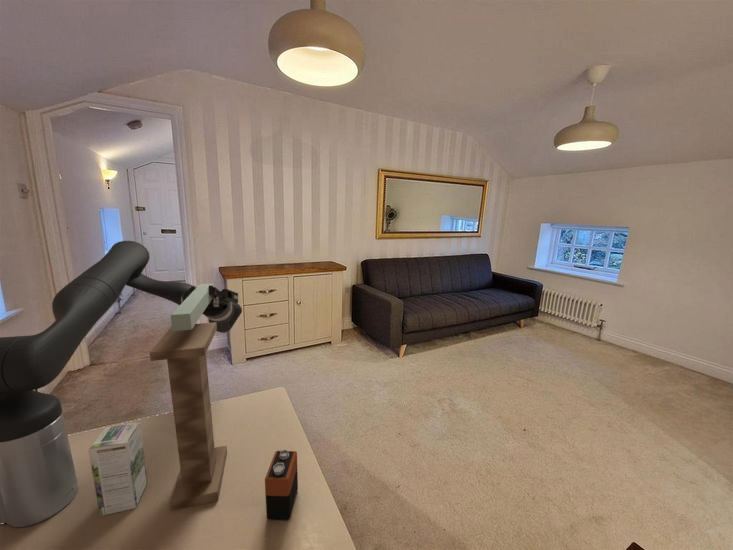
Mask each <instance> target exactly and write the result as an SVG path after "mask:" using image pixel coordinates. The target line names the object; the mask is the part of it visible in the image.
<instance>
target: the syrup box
mask: <svg viewBox="0 0 733 550" xmlns="http://www.w3.org/2000/svg"><path fill="white" fill-rule="evenodd" d="M144 451H145V450H144V444H143V436H142V428H141V423H140V422H130V423H122V424H121V423H120V424H114V425H111V426H106V427H105V428H104V429H103V431H102V432H101V433H100V434H99V436H98V437H97V439H96V440H95V441H94V443H93V444H92V445H91V446H90V448H89V449H88V454H89V460H90V461H89V462H90V465H91V473H92V478H93V483H94V489H95V490H94V491H95V495H96V501H97V507H98V512H99V513H98V514H99V517H103V516H107V515H113V514H116V513H121V512H125V511H129V510H132V509H136V508H137V507H138V505H139V502H140V500H141V498H142V495H143V493H144V492H145V489H146V487H147V484H148V475H147V468H146V461H145V452H144Z"/></svg>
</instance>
